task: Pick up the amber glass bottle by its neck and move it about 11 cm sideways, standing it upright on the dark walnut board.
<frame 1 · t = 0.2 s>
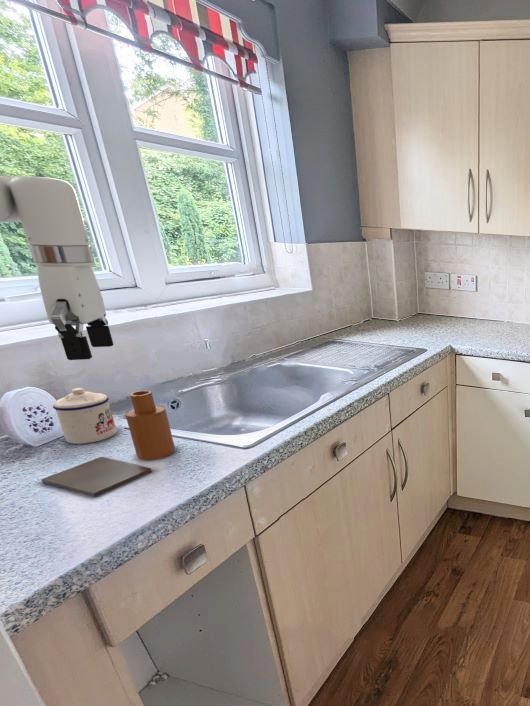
hand: (92, 352, 84), 24 cm above the table, tool pointing down, fingers open, 9 cm apart
bottle: (156, 453, 99), on the table
teacup with lid: (95, 434, 106), on the table
board: (98, 477, 89), on the table
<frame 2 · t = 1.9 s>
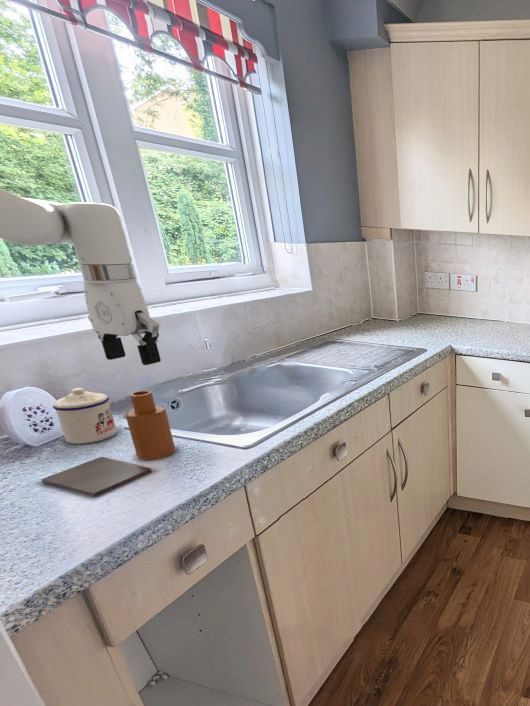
hand: (134, 360, 92), 21 cm above the table, tool pointing down, fingers open, 9 cm apart
nothing on the table moved.
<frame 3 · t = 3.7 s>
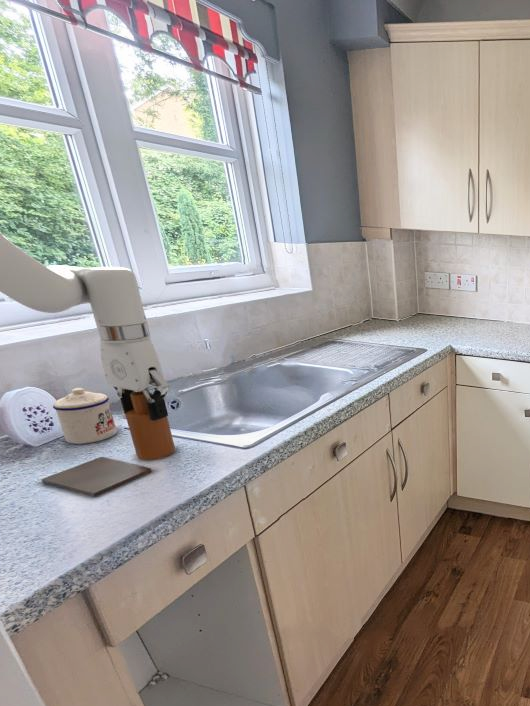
hand: (146, 415, 95), 9 cm above the table, tool pointing down, fingers closed on bottle, 6 cm apart
bottle: (156, 453, 99), on the table, touching gripper
everything else where it was.
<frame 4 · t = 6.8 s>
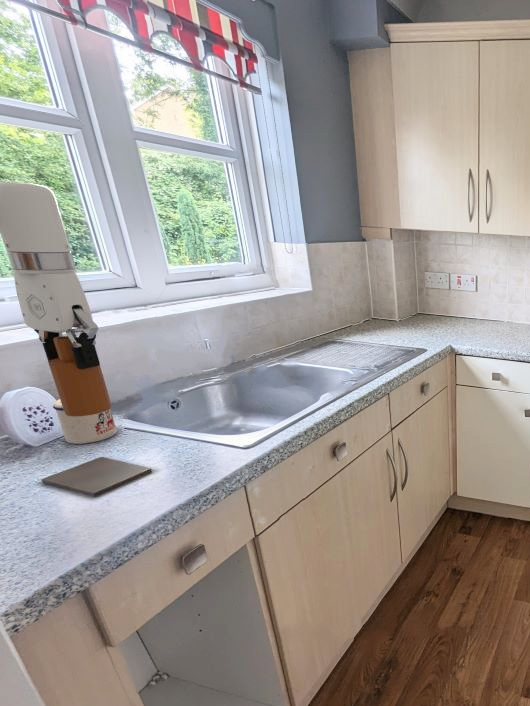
hand: (74, 364, 82), 23 cm above the table, tool pointing down, fingers closed on bottle, 6 cm apart
bottle: (89, 410, 86), point 14 cm above the table, touching gripper
everything else where it was.
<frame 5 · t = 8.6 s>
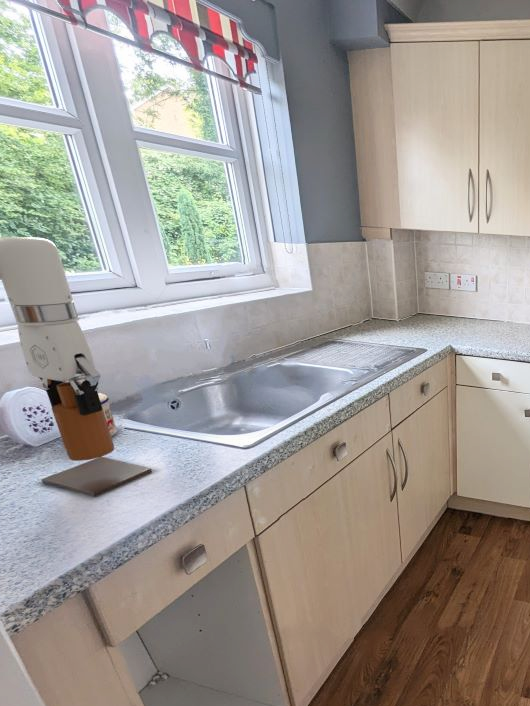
hand: (77, 409, 84), 14 cm above the table, tool pointing down, fingers closed on bottle, 6 cm apart
bottle: (92, 452, 87), point 5 cm above the table, touching gripper
everything else where it was.
when the fingers open (10 cm above the table, at t = 10.2 s): bottle stays where it is, resting on board.
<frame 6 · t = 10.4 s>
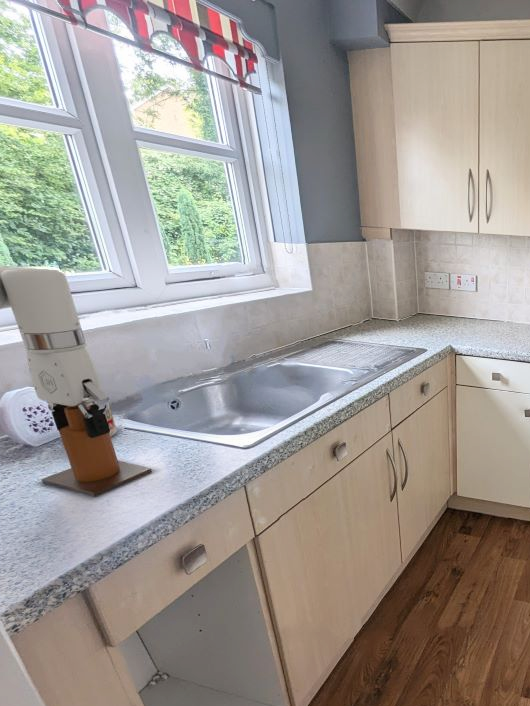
hand: (84, 431, 85), 10 cm above the table, tool pointing down, fingers open, 7 cm apart
bottle: (98, 473, 88), point 1 cm above the table, touching board
everything else where it was.
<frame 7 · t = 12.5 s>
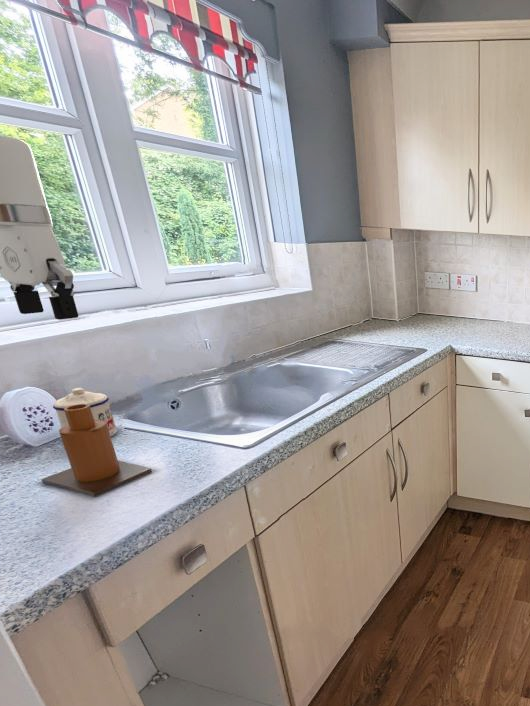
hand: (49, 315, 84), 30 cm above the table, tool pointing down, fingers open, 9 cm apart
nothing on the table moved.
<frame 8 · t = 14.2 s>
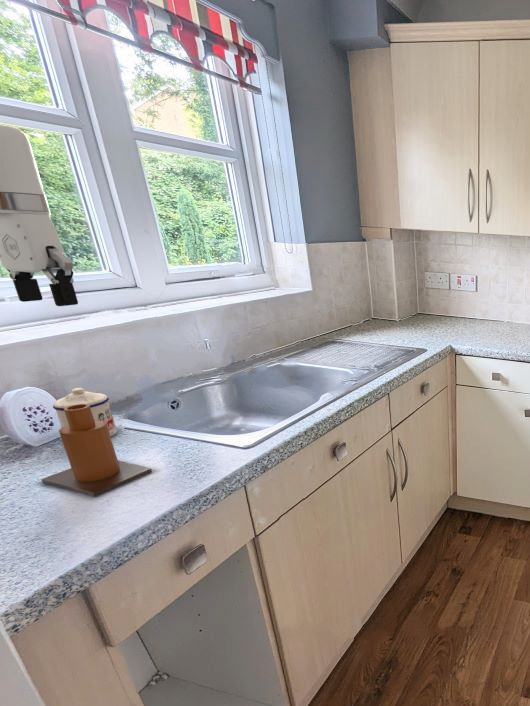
hand: (49, 303, 85), 32 cm above the table, tool pointing down, fingers open, 9 cm apart
nothing on the table moved.
at the end: bottle inside the target area on the board (0.0 cm from its centre), point 0.8 cm above the board's base; bottle tilted 0°; the gripper is holding nothing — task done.
